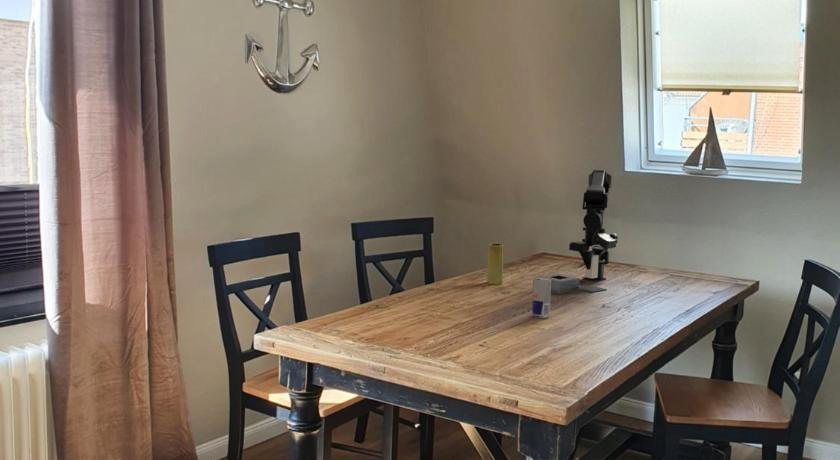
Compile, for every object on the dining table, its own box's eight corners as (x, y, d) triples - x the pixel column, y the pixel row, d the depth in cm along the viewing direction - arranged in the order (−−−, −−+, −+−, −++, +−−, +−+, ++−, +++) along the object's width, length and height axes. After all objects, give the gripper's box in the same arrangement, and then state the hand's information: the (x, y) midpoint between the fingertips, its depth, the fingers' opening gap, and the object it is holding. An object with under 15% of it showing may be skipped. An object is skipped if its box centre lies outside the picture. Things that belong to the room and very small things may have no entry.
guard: (557, 285, 310) (558, 273, 309) (579, 290, 302) (579, 278, 302) (538, 289, 304) (538, 276, 303) (559, 294, 296) (560, 281, 295)
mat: (589, 286, 310) (589, 285, 310) (606, 290, 304) (606, 289, 304) (574, 288, 305) (574, 287, 305) (591, 293, 299) (591, 291, 299)
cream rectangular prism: (590, 276, 306) (591, 253, 305) (597, 277, 304) (598, 255, 302) (585, 277, 304) (586, 254, 303) (591, 278, 302) (592, 256, 301)
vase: (503, 281, 315) (504, 243, 313) (503, 285, 309) (504, 246, 307) (486, 281, 316) (487, 242, 314) (486, 284, 310) (487, 245, 308)
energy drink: (530, 314, 267) (531, 276, 265) (547, 314, 268) (548, 276, 266) (534, 318, 262) (535, 280, 260) (551, 318, 262) (553, 280, 261)
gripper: (594, 230, 289) (591, 275, 291) (629, 225, 301) (626, 269, 303) (569, 226, 298) (567, 270, 300) (604, 222, 309) (602, 264, 312)
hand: (591, 268), depth 303 cm, fingers closed on cream rectangular prism, 3 cm apart
